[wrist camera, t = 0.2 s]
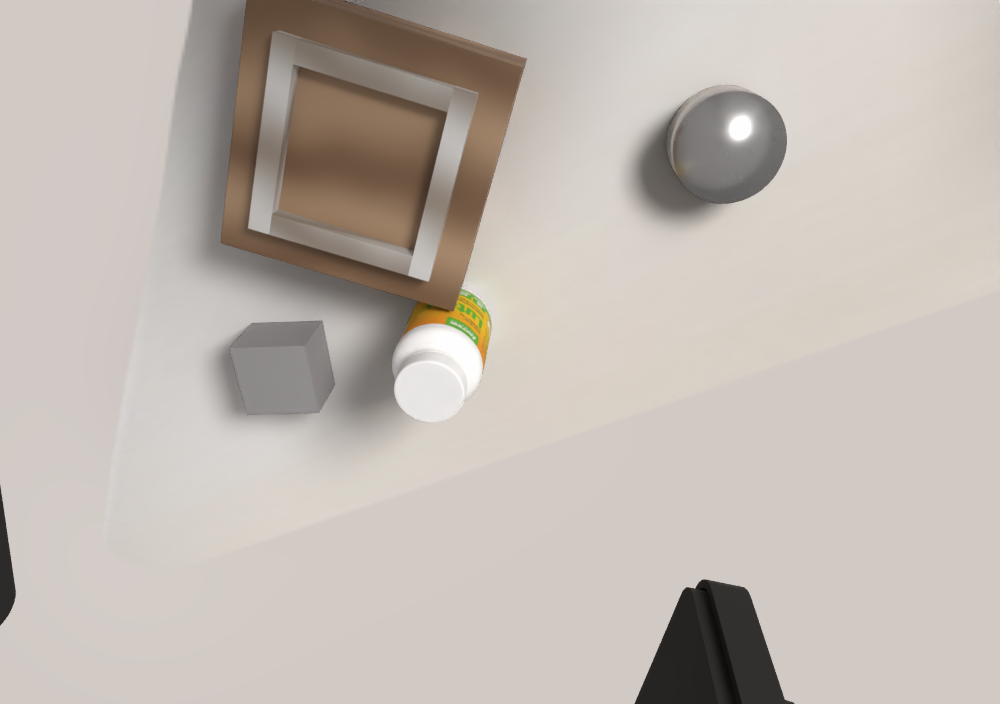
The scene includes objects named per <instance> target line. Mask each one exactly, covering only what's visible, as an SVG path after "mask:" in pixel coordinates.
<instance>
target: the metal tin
mask: <svg viewBox="0 0 1000 704" xmlns="http://www.w3.org/2000/svg"><path fill="white" fill-rule="evenodd" d="M786 145H787V135H786V129H785V125H784V122H783V120H782V118H781V116H780V114H779V112H778V111H777V110H776V108H775V107H774V106H773V105H772V104H771V103H770V102H768V101H767V100H766V99H764V98H762V97H761V96H759V95H757V94H755V93H753V92H751V91H749V90H747V89H744V88H742V87H738V86H734V85H718V86H713V87H710V88H706V89H704V90H702V91H700V92H698V93H696V94H695V95H693V96H692V97H691V98H689V99H688V100H687V101H686V102H685V103H684V104H683V105H682V106H681V107H680V108H679V110H678V111H677V113H676V114H675V116H674V117H673V120H672V122H671V124H670V127H669V130H668V135H667V154H668V158H669V161H670V164H671V166H672V168H673V170H674V171H675V173H676V174H677V176H678V177H679V179H680V181H681V182H682V183H683V185H684V186H685V187H686V188H687V189H688V190H689V191H690V192H691V193H692V194H694V195H695V196H697V197H698V198H700V199H702V200H705V201H708V202H712V203H719V204H726V203H734V202H738V201H742V200H744V199H747V198H749V197H751V196H753V195H755V194H756V193H758V192H759V191H761V190H762V189H763V188H764V187H765V186H767V185H768V184H769V182H770V181H771V180H772V179H773V178H774V176H775V175H776V174H777V172H778V170H779V168H780V167H781V164H782V162H783V159H784V156H785V152H786Z"/></svg>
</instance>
